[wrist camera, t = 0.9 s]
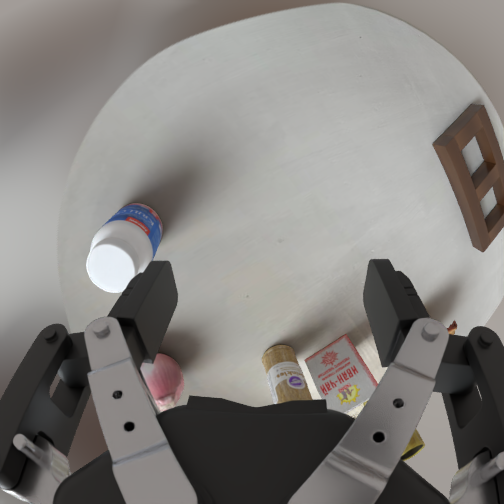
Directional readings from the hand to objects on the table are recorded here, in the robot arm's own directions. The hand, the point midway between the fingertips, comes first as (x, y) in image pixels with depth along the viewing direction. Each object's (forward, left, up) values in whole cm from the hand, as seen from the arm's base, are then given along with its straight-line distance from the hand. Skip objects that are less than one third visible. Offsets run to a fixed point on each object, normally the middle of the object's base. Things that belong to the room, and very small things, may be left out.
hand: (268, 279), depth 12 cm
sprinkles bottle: (+20, -10, -19) cm, 30 cm away
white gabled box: (+26, -5, -19) cm, 33 cm away
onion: (+9, -22, -19) cm, 31 cm away
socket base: (+21, +28, -19) cm, 40 cm away
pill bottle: (-4, -9, -19) cm, 22 cm away
